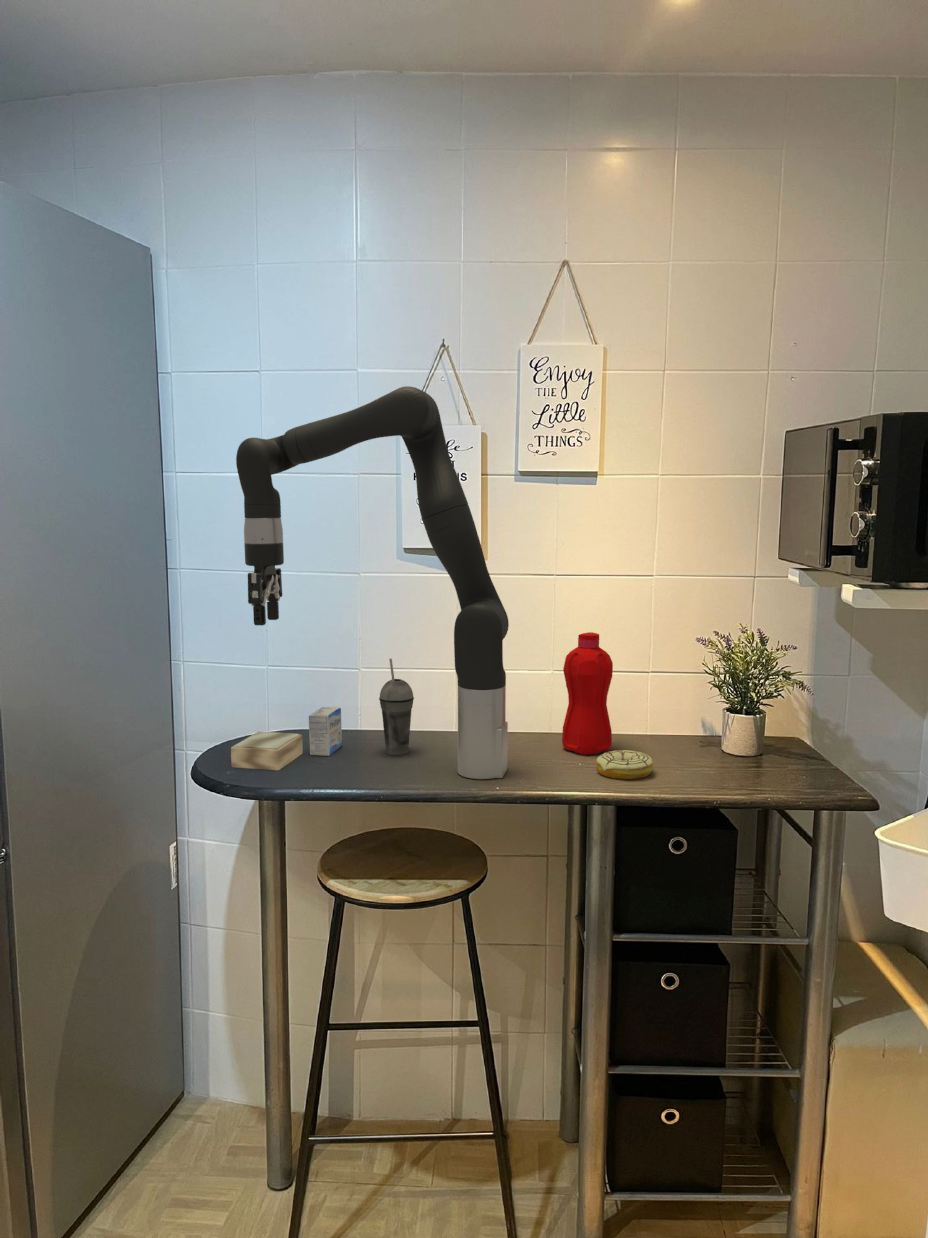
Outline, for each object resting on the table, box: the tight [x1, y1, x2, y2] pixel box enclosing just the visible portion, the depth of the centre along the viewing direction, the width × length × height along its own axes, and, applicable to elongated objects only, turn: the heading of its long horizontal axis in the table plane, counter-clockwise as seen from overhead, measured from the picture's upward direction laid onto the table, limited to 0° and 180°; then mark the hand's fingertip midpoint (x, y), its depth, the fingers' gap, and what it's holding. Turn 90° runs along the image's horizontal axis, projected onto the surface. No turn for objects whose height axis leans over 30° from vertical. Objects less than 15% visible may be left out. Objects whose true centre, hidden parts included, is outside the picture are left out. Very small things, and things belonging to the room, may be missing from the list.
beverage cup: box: [378, 658, 415, 756], centre depth 182 cm, size 7×7×20 cm
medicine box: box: [308, 706, 343, 757], centre depth 184 cm, size 8×4×9 cm, turn 168°
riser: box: [230, 731, 304, 771], centre depth 177 cm, size 10×12×4 cm
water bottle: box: [561, 631, 614, 756], centre depth 184 cm, size 9×11×25 cm
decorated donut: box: [596, 749, 654, 780], centre depth 169 cm, size 10×11×4 cm
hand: (266, 622), depth 175 cm, fingers open, 8 cm apart
